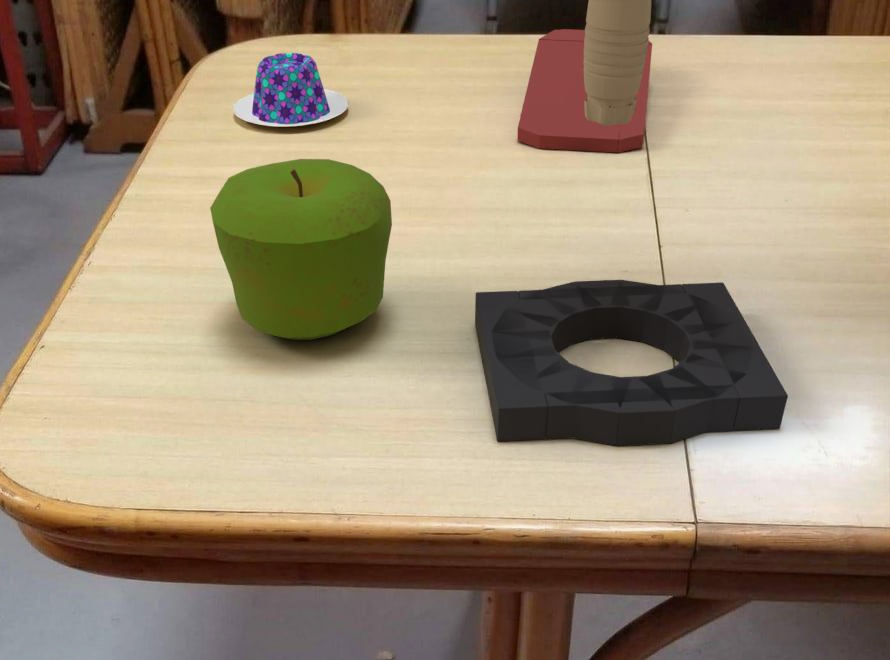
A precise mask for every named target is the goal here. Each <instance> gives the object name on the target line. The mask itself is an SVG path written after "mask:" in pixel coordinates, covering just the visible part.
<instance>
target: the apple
mask: <svg viewBox="0 0 890 660" xmlns="http://www.w3.org/2000/svg"><path fill="white" fill-rule="evenodd" d="M209 209H210V215H211V220H212V224H213V228H214V234H215V237H216V241H217V246H218V250H219V252H220V254H221V257H222V260H223V262H224V265H225V268H226V271H227V273H228V275H229V278H230V281H231V284H232V289H233V294H234V297H235V303H236V307H237V309H238V311H239V314H240V316H241V319H243V320H244V321H245V322H246V323H247V324H248V325H250V326H252V328H254V329H255V330H256V331H259V332H262V333H266V334H268V335H271V336H274V337H277V338H282V339H286V340H287V339H288V340H294V341H295V340H296V341H302V340H305V341H307V340H309V341H310V340H317V339H322V338H327V337H330V336H332V335H335V334H337V333H339V332H341V331H343V330H346V329H348V328H350V327H352V326H354V325H357V324H358V323H362V321H364V320H366V319H367V318H368V317H370V316H371V315H372V314H373V313H375V312H376V311H377V310H378V308H379V307H380V304H381V302H382V301H383V298H384V287H385V274H386V272H385V271H386V261H387V256H388V255H387V254H388V251H389V250H388V249H389V243H390V239H391V238H390V237H391V233H392V226H393V222H392V221H393V219H392V203H391V198H390V196H389V195H388V193H387V190H386V188H385V187H384V186H383V184H381V182H379V181H378V180H377V179H376V177H374V176H373V175H372V174H371V173H369V172H368V171H365V170H364V169H361V168H359V167H357V166H355V165H353V164H350V163H345V162H341V161H337V160H333V159H329V158H328V159H327V158H298V159H292V160H286V161H285V160H284V161H279V162H273V163H268V164H264V165H259V166H256V167H251V168H247V169H244V170H242V171H240V172H238V173H236V174H234V175H231V176H230V177H228V178H227V179H226V181H225V182H224V184H223V186H222V187H221V189H220V191H219V192H218V194H217V196H216V197H215V199H214V200H213V203H212V204H211V205H210V207H209Z"/></svg>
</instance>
